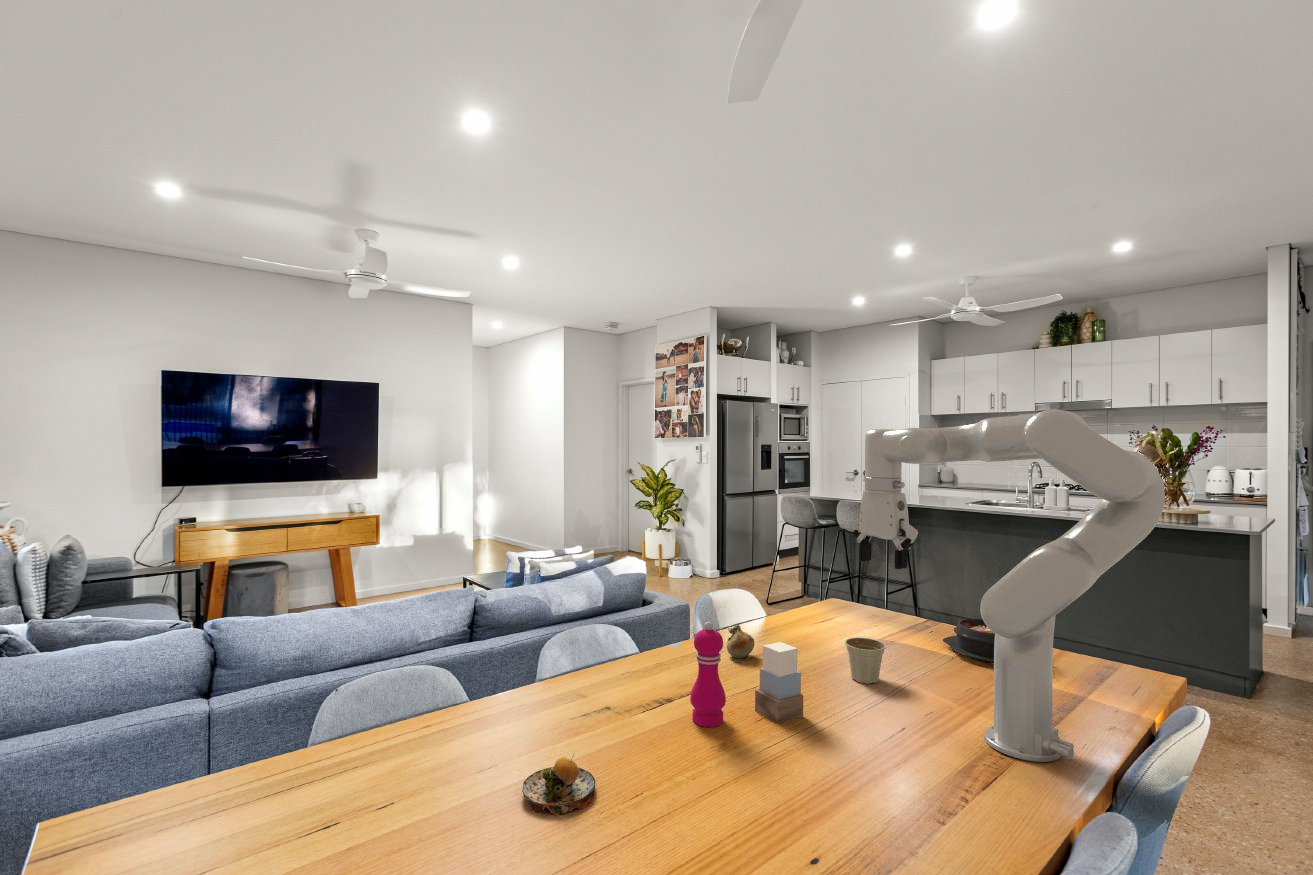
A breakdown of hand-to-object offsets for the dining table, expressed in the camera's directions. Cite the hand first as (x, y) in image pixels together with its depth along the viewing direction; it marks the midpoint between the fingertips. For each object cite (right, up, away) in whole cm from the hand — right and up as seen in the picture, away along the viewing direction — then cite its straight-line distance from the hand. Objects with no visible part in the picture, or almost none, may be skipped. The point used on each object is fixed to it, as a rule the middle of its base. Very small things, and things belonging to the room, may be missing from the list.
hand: (882, 564), depth 138 cm
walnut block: (-24, -30, -5) cm, 39 cm away
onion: (-27, -31, +29) cm, 50 cm away
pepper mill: (-39, -30, -9) cm, 50 cm away
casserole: (+39, -31, +31) cm, 59 cm away
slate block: (-23, -26, -5) cm, 35 cm away
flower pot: (+1, -31, +14) cm, 34 cm away
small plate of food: (-65, -30, -36) cm, 80 cm away
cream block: (-23, -21, -5) cm, 32 cm away
